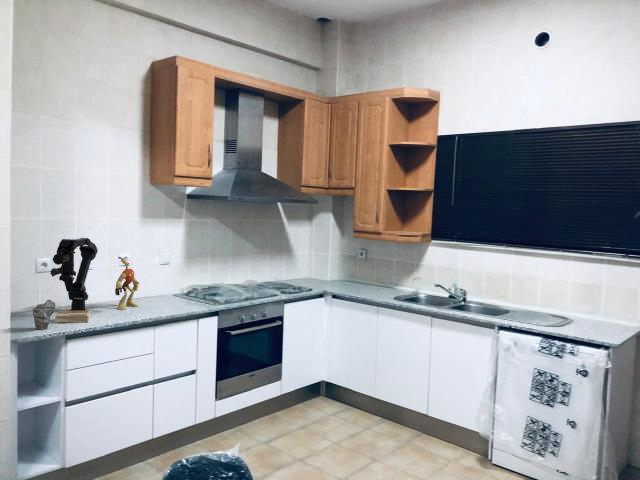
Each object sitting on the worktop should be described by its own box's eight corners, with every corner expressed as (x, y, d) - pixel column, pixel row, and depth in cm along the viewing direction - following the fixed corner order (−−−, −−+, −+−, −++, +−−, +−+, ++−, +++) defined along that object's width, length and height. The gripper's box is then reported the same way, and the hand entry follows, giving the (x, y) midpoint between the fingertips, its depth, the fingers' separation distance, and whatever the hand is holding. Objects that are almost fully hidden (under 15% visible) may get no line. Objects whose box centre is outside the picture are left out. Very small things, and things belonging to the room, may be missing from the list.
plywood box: (58, 319, 278) (58, 311, 278) (89, 318, 283) (89, 310, 283) (55, 323, 269) (55, 315, 268) (87, 322, 274) (87, 314, 273)
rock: (31, 327, 259) (31, 296, 258) (43, 325, 264) (43, 295, 263) (43, 331, 252) (43, 300, 251) (55, 329, 256) (55, 299, 255)
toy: (120, 312, 299) (121, 259, 297) (107, 311, 301) (107, 258, 299) (142, 305, 322) (143, 255, 320) (129, 304, 324) (130, 255, 321)
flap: (59, 312, 278) (59, 311, 278) (88, 311, 282) (88, 310, 282) (58, 313, 274) (58, 312, 274) (87, 312, 278) (87, 311, 278)
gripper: (54, 260, 292) (53, 288, 293) (48, 264, 275) (48, 294, 276) (76, 260, 296) (76, 288, 297) (72, 264, 278) (72, 294, 279)
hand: (67, 291), depth 287 cm, fingers closed
